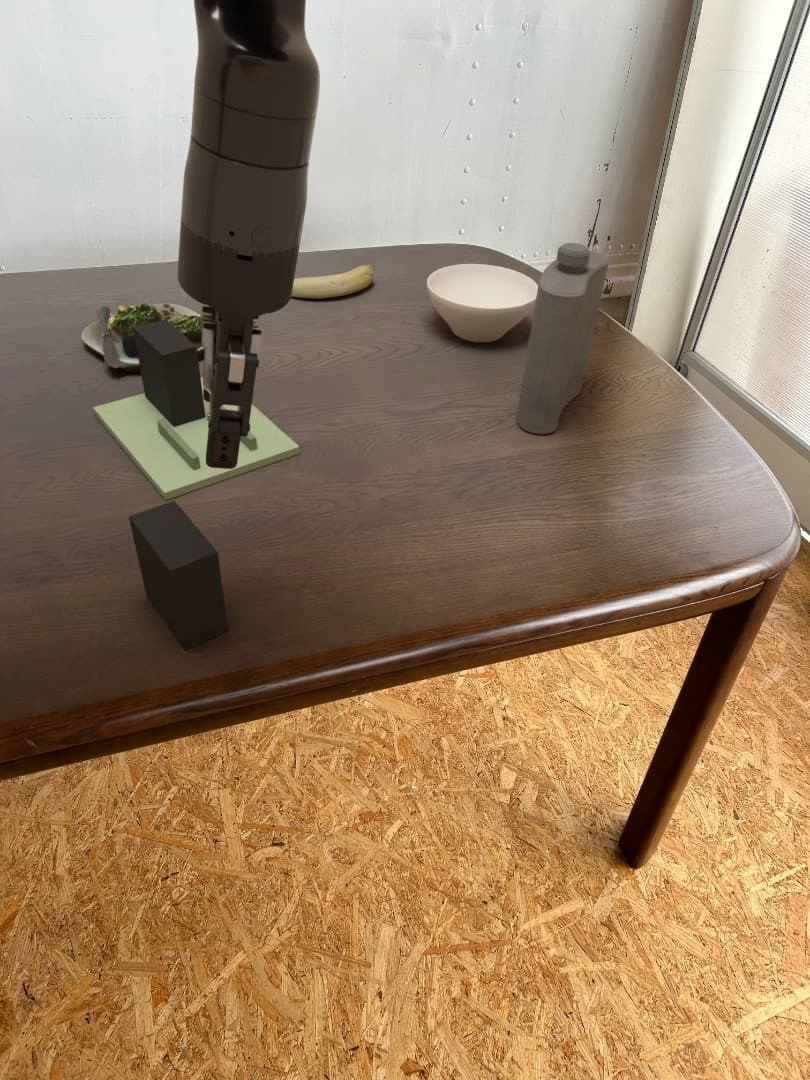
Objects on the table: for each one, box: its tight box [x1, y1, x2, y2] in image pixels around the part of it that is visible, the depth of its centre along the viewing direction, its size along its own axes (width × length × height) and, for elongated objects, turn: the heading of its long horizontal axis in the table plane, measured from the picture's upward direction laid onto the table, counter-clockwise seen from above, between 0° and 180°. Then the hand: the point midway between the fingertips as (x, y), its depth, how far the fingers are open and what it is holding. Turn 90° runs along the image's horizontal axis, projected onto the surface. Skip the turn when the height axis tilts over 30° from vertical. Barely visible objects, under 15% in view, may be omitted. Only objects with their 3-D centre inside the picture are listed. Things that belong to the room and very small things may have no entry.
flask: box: [516, 242, 610, 435], centre depth 93 cm, size 15×6×20 cm, turn 154°
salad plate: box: [81, 302, 205, 374], centre depth 106 cm, size 19×18×5 cm
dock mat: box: [92, 320, 300, 501], centre depth 87 cm, size 16×20×10 cm
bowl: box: [426, 263, 538, 343], centre depth 113 cm, size 16×16×7 cm
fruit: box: [291, 264, 375, 300], centre depth 122 cm, size 7×15×3 cm, turn 113°
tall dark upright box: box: [128, 500, 229, 651], centre depth 66 cm, size 4×8×9 cm, turn 37°
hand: (218, 431), depth 60 cm, fingers open, 8 cm apart
